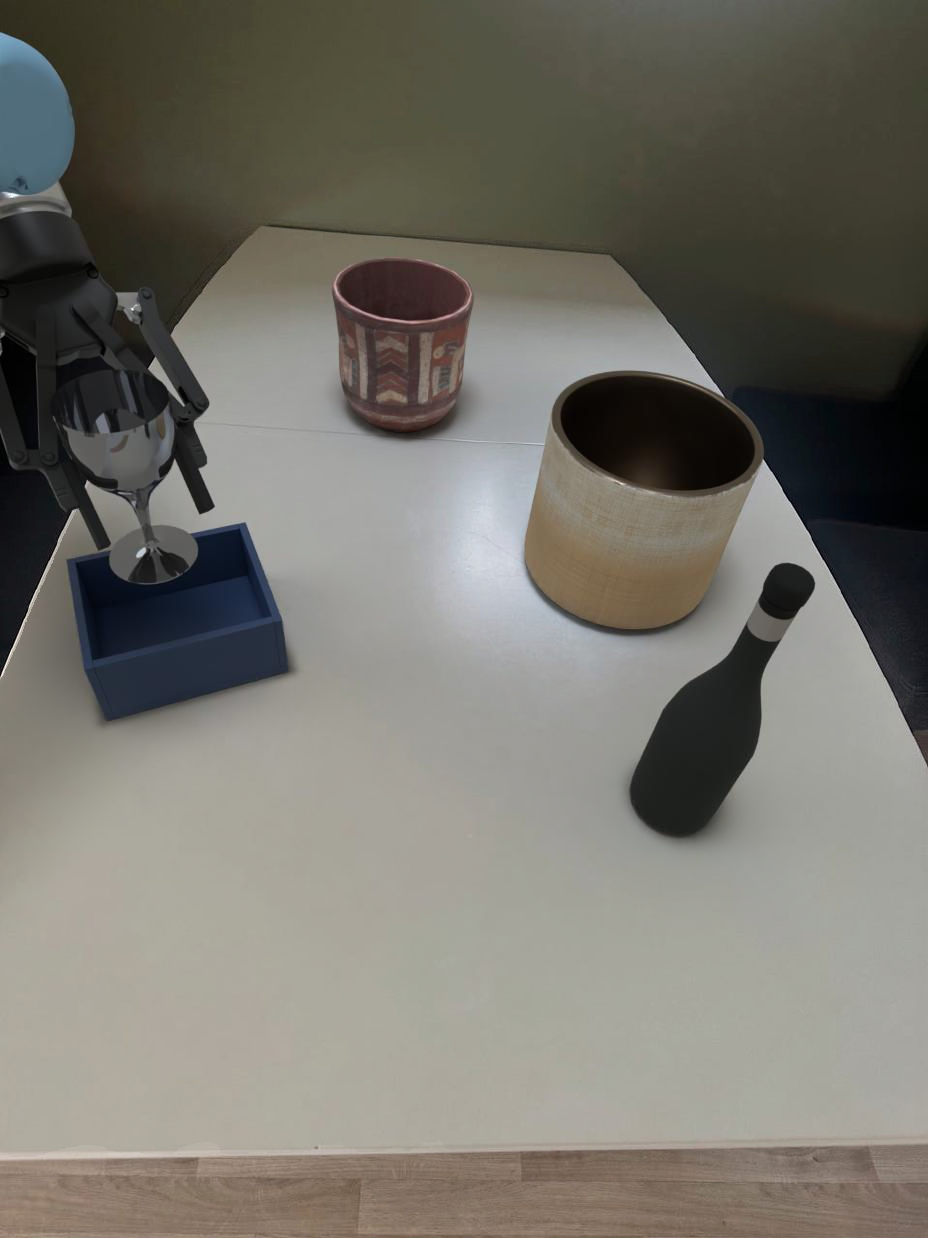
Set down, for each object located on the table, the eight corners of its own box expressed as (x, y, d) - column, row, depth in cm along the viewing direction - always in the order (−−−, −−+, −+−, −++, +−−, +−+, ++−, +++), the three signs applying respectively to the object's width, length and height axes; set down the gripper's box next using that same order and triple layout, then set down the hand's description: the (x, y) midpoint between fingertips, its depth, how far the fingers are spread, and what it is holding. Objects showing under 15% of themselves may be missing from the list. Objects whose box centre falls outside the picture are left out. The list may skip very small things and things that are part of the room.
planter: (743, 598, 94) (813, 460, 79) (594, 664, 86) (641, 523, 71) (627, 489, 106) (669, 351, 91) (487, 537, 97) (508, 393, 83)
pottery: (353, 454, 106) (351, 328, 93) (325, 382, 117) (319, 259, 103) (478, 438, 111) (493, 315, 97) (440, 370, 122) (448, 251, 108)
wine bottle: (638, 751, 79) (743, 521, 56) (718, 780, 77) (857, 556, 55) (619, 819, 73) (725, 596, 51) (703, 852, 72) (851, 637, 50)
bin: (106, 721, 76) (83, 669, 70) (87, 613, 84) (65, 558, 78) (288, 671, 81) (282, 619, 76) (253, 575, 90) (245, 521, 84)
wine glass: (111, 597, 64) (55, 442, 53) (97, 533, 68) (44, 378, 57) (212, 574, 66) (179, 422, 55) (192, 514, 71) (159, 362, 60)
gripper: (152, 228, 65) (265, 493, 69) (-129, 280, 56) (19, 581, 60) (166, 183, 59) (289, 478, 63) (-149, 233, 50) (18, 574, 54)
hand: (157, 528), depth 61 cm, fingers closed on wine glass, 7 cm apart
